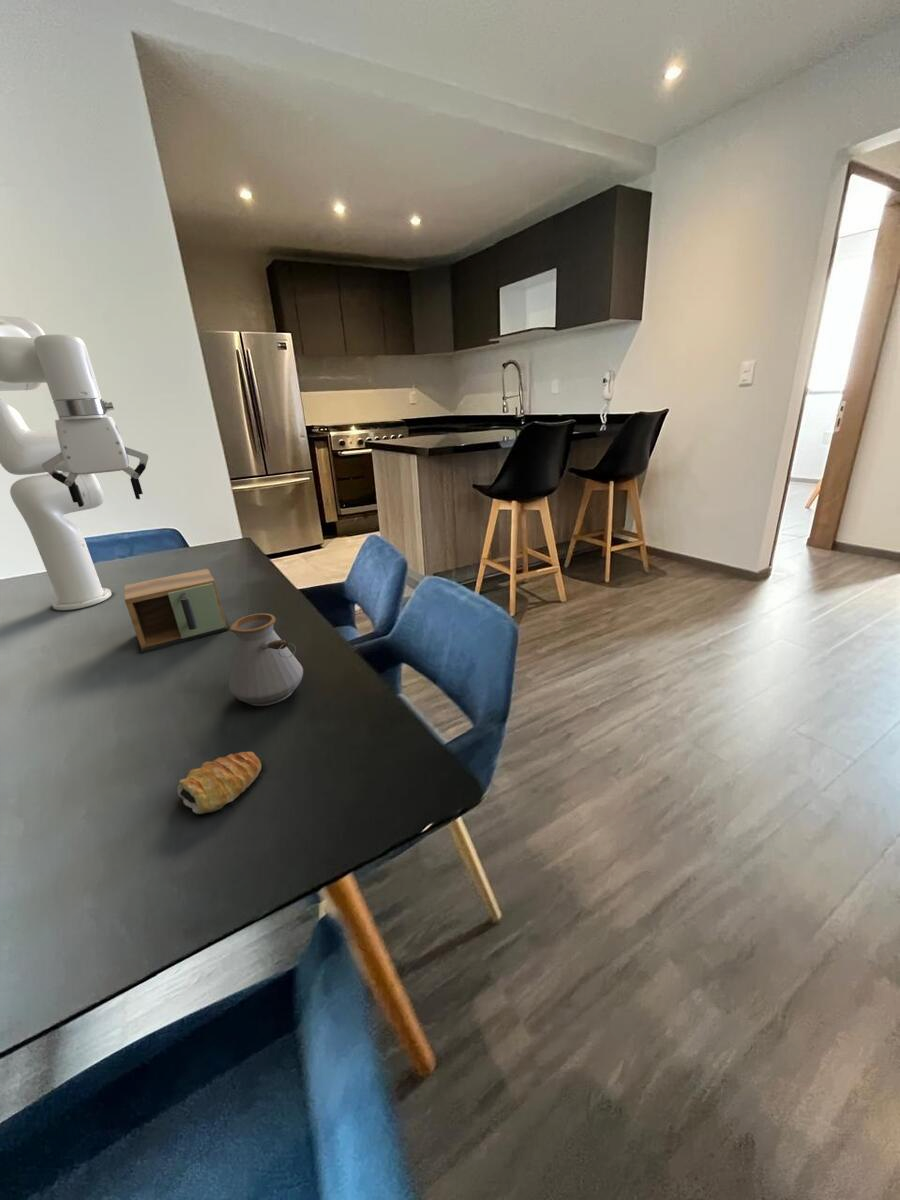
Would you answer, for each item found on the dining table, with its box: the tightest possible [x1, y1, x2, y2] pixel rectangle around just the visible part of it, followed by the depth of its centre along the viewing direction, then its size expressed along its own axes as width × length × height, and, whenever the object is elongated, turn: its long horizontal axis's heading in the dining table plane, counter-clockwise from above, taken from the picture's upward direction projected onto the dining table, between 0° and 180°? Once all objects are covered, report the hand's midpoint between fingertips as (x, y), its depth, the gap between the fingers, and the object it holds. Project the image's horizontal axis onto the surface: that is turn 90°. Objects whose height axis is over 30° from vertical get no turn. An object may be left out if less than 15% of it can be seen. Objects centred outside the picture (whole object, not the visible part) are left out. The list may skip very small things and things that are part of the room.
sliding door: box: [168, 583, 224, 639], centre depth 99 cm, size 5×8×10 cm, turn 122°
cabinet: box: [124, 568, 229, 653], centre depth 103 cm, size 11×16×11 cm
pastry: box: [176, 751, 262, 815], centre depth 60 cm, size 9×7×4 cm
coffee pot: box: [228, 613, 304, 707], centre depth 74 cm, size 21×12×15 cm, turn 37°
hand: (110, 501), depth 98 cm, fingers open, 9 cm apart
